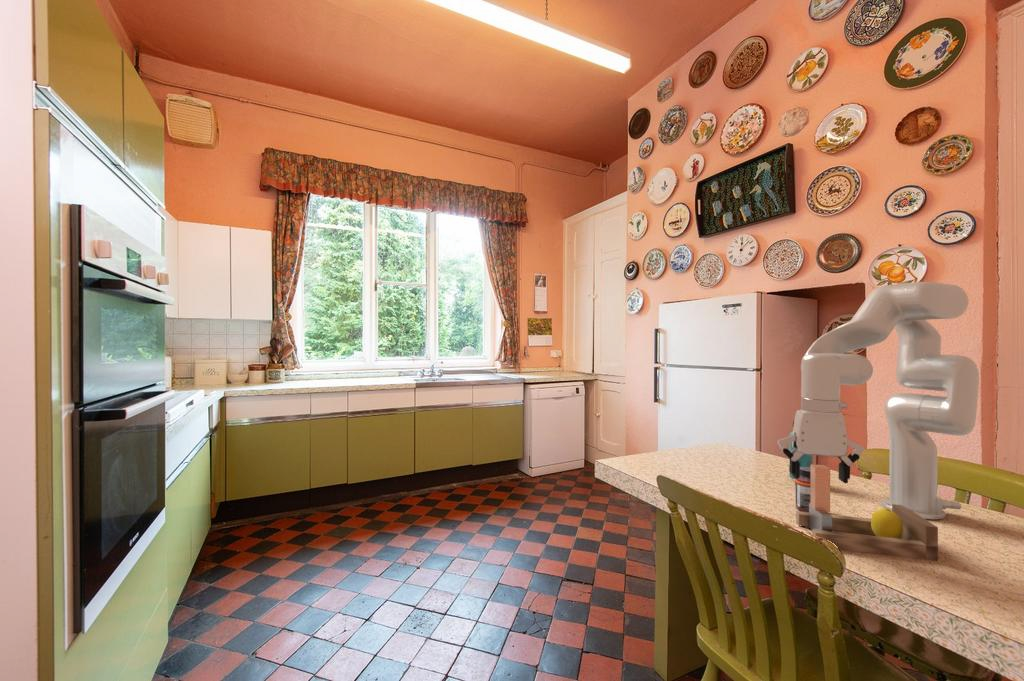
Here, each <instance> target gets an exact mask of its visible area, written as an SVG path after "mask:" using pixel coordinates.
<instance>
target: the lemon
mask: <svg viewBox="0 0 1024 681" xmlns="http://www.w3.org/2000/svg"><path fill="white" fill-rule="evenodd" d="M870 519H871V528H872V530H873V532H874V534H875V535H874V534H873V535H874V536H879V537H888V538H897V539H900V538H901V536H902V533H903V525H902V521H901V519H900V518H899V516H898V515H897V514H896V513H894V512H893V511H891V510H889V509H888V508H885V507H884V508H879V509H877V510H875V511H874V512H873V513H872V516H871V518H870Z"/></svg>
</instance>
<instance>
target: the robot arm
mask: <svg viewBox="0 0 1024 681" xmlns="http://www.w3.org/2000/svg"><path fill="white" fill-rule="evenodd" d="M968 307H969V297H968V294H967V292H966V291H965V290H964V289H963V288H962V287H961V286H959V285H955V284H951V283H949V284H948V283H943V282H935V281H934V282H933V281H916V282H915V281H914V282H907V283H897V284H886V285H882V286H879V287H877V288H875V289H873V290H872V291H871V292H869V294H868V296H867V297H866V298H865V299H864V301H863V302H862V304H861V305H860V307H859V308H858V310H857V311H856V312H855V314H854V315H853V317H852V318H851V319H850V320H849V321H847V322H845V323H844V324H841V325H839V326H838V327H837V326H836V328H834V329H832V330H830V331H828V332H827V333H825V334H823V335H821V336H820V337H818V338H817V339H816V340H815V341H814V342H813V343H812V344H811V346H810V347H809V348H808V349H807V351H806V352H805V354H804V355H803V357H802V358H801V363H800V371H801V375H800V379H801V382H800V386H801V387H800V409H797V410H796V411H795V416H794V420H793V421H794V427H793V426H792V428H793V429H792V431H793V434H792V435H790V436H789V435H787V436H786V437H782V438H780V439H778V440H777V441H776V443H777V445H778V446H779V448H780V449H781V452H782V454H784V455H785V456H786V457H788V460H789V459H790V462H789V465H790V471H789V473H791V474H792V476H793V477H795V478H796V479H799V478H800V462H798V459H799V458H800V457H801V456H802V455H803V454H808V455H812V456H821V457H835V458H838V459H839V460H840V462H838V480H839V481H840V482H842V483H844V484H849V483H848V482H849V480H850V478H851V467H852V466H853V465H854V463H855V462H857V461H858V460H859V459H860V458H861V457H860V456H861V455H862V453H863V452H864V451H865V447H864V446H862V445H860V444H858V443H856V442H854V441H852V440H850V439H848V433H847V432H848V431H847V426H846V421H845V416H844V414H843V413H841V412H842V410H843V409H847V408H848V404H847V402H842V400H841V385H843V386H860V385H863V384H865V383H867V382H868V381H869V380H870V379H871V378H872V376H873V373H874V369H873V368H874V367H873V365H872V362H871V361H870V359H868V358H867V357H865V356H863V355H861V354H856V353H849V352H851V351H855V350H859V349H864V348H867V347H872V346H874V345H878V344H881V343H883V342H885V340H887V339H888V338H889V337H890V334H891V333H892V331H893V330H894V329H895V331H896V333H897V337H898V347H897V357H896V367H895V377H896V381H897V383H898V384H899V386H902V387H904V388H908V389H913V390H914V389H915V390H925V391H935V392H936V391H937V392H946V396H942V395H941V396H940V395H938V396H937V395H930V394H923V393H922V394H920V393H911V392H910V393H909V392H908V393H907V392H906V393H896V394H893V395H891V396H889V397H888V398H887V399H886V402H885V404H884V412H885V417H886V422H887V427H888V433H889V434H888V435H889V498H884V499H882V500H881V504H882V506H883V507H884V508H888V509H889V510H891V511H892V504H897V505H903V506H905V507H906V508H908V509H910V510H911V511H913V512H914V513H916V514H917V515H919V516H921V517H922V518H924V519H925V520H942V519H945V518H946V511H945V510H946V509H952V510H961V509H962V504H961V502H959V501H955V500H948V499H946V498H941V497H939V496H938V449H937V448H938V447H937V445H936V443H935V441H934V440H933V438H932V437H931V436H930V434H929V433H934V434H941V435H948V436H958V437H959V436H961V437H962V436H967V435H969V434H971V432H973V430H974V428H975V425H976V422H977V412H978V410H977V409H978V400H979V398H978V397H979V387H980V371H979V368H978V366H977V364H976V362H975V361H974V360H973V359H972V358H970V357H968V356H965V355H959V354H958V355H957V354H941V350H942V348H941V346H942V336H941V334H940V332H939V331H938V330H937V329H936V327H935V326H934V325H932V323H930V322H929V321H928V320H948V319H949V320H950V319H956V318H959V317H961V316H963V315H964V313H965V312H966V311H967V309H968ZM790 442H792V446H793V448H794V450H793V451H791V452H790V451H789V447H788V446H787V445H788V444H789V443H790ZM848 446H849V447H851V448H852V449H853V451H852V452H851V453H849V454H848ZM847 454H848V455H847Z"/></svg>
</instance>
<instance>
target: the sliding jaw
mask: <svg viewBox="0 0 1024 681" xmlns="http://www.w3.org/2000/svg"><path fill="white" fill-rule="evenodd" d="M832 515H833V514H831V468H829V467H828V466H827V465H825V464H814V463H813V464H811V481H810V503H809V527H808V528H809V529H810V530H811V531H812V532H813V529H815V530H824V531H833V530H832Z"/></svg>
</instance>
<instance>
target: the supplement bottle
mask: <svg viewBox="0 0 1024 681" xmlns="http://www.w3.org/2000/svg"><path fill="white" fill-rule="evenodd" d="M794 480H795V508H796V509H797V510H798V511H799V512H809V503H810V481H811V468H810V467H800V478H799V479H796V478H795V479H794Z"/></svg>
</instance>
